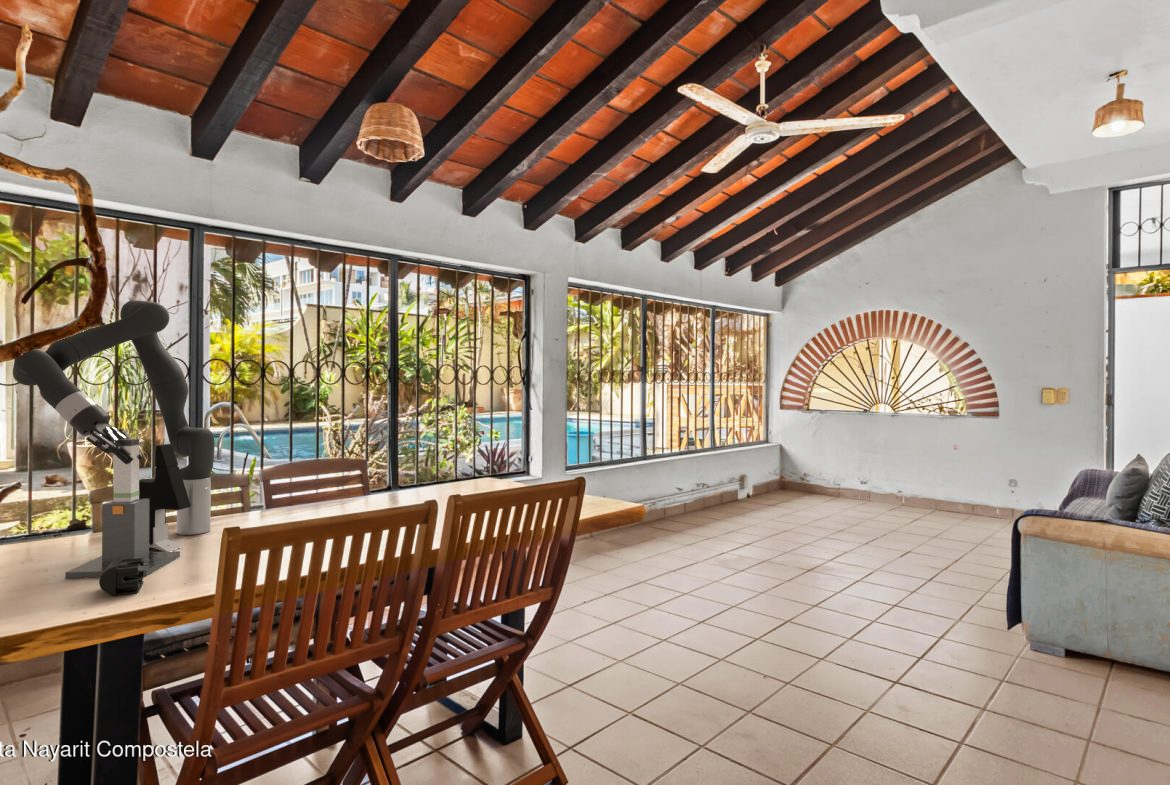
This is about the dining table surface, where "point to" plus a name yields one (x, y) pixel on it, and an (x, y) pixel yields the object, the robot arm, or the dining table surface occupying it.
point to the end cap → (122, 577)
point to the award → (163, 496)
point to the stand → (124, 540)
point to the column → (127, 473)
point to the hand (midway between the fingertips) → (134, 460)
